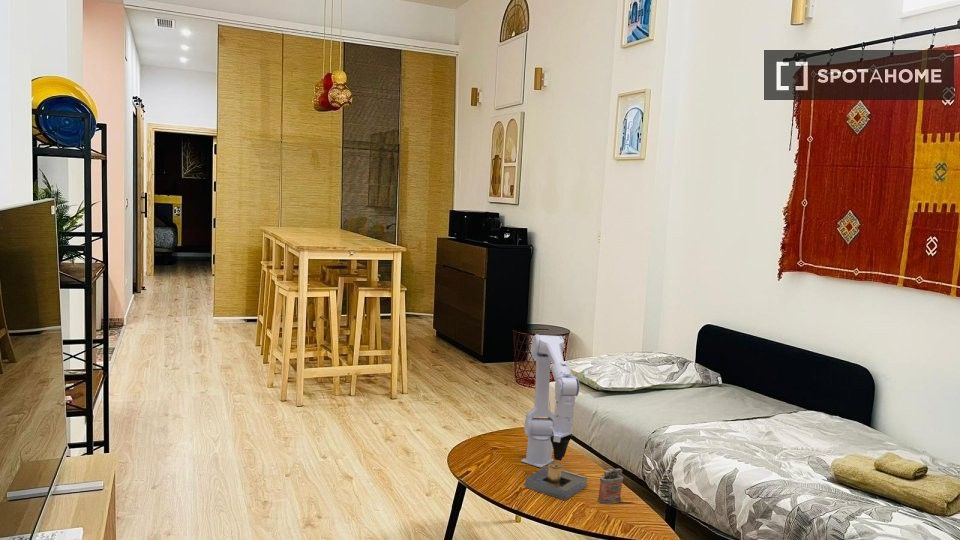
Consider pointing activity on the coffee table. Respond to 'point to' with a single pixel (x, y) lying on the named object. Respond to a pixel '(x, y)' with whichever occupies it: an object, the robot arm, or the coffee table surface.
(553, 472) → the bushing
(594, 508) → the coffee table surface
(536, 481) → the jig
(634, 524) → the coffee table surface
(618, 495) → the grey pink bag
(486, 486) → the coffee table surface
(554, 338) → the robot arm
